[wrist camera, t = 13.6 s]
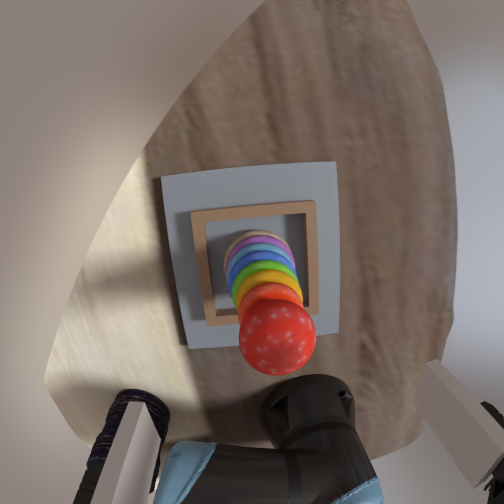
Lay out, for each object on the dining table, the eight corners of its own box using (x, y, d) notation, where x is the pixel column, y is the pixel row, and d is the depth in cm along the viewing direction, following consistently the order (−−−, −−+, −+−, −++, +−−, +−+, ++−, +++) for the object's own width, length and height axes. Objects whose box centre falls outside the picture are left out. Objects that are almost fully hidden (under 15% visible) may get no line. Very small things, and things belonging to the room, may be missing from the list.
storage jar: (104, 390, 40) (72, 454, 25) (154, 384, 39) (130, 458, 25) (132, 430, 42) (111, 492, 28) (180, 426, 42) (168, 496, 27)
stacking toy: (209, 263, 34) (183, 355, 16) (257, 213, 33) (283, 258, 15) (258, 306, 36) (277, 418, 17) (305, 260, 34) (370, 342, 16)
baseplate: (335, 328, 38) (343, 339, 35) (190, 344, 38) (186, 357, 35) (332, 161, 33) (341, 160, 30) (163, 176, 32) (156, 176, 29)
